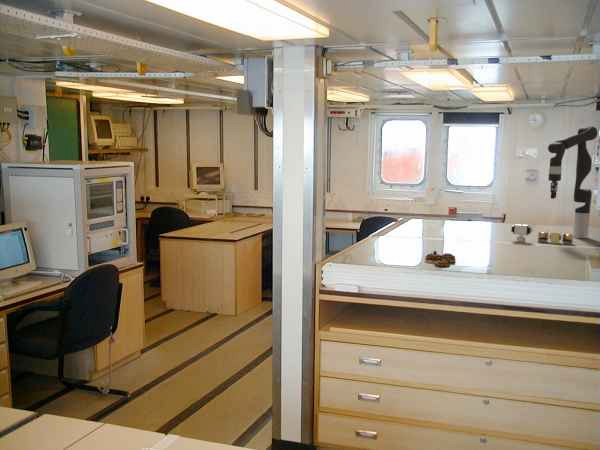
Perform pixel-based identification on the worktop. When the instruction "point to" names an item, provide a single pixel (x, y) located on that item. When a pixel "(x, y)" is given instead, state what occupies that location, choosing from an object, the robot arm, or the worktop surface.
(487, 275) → the worktop surface
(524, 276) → the worktop surface
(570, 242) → the pipe stubs
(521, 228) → the pneumatic valve
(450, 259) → the gear puzzle
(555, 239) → the block
